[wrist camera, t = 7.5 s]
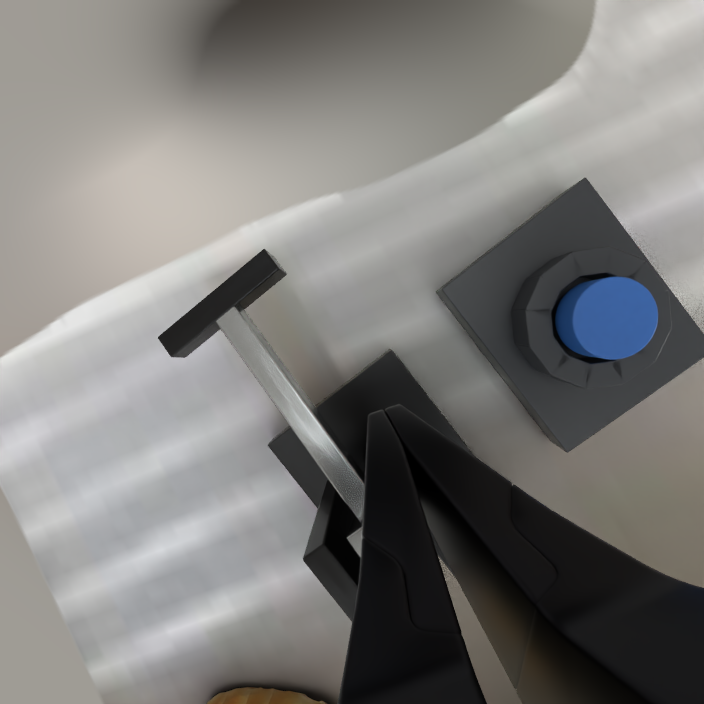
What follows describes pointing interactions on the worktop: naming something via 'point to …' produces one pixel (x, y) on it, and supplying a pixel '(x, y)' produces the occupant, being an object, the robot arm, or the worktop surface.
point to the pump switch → (540, 310)
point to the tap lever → (270, 374)
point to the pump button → (607, 318)
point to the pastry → (261, 697)
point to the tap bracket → (351, 429)
